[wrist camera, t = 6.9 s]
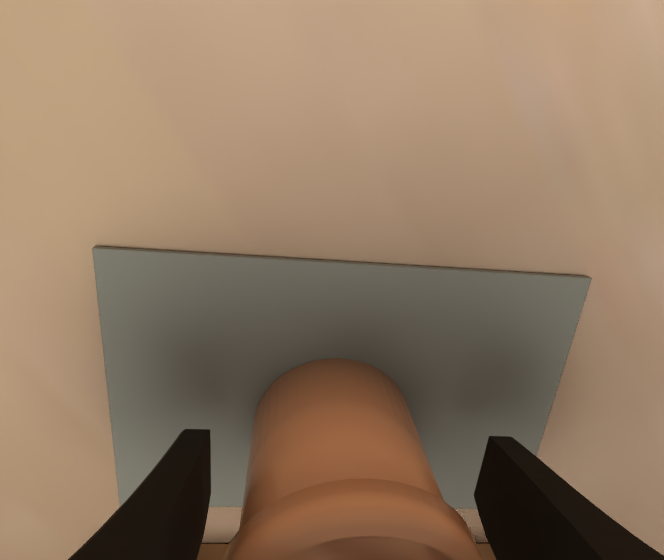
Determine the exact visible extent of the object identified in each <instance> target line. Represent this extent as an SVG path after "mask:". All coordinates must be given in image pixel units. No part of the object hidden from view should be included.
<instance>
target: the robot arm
mask: <svg viewBox="0 0 664 560" xmlns="http://www.w3.org/2000/svg"><path fill="white" fill-rule="evenodd" d="M210 496H211V442H210V429H185V430H183V431H182V432H181V433H180V434H179V436H178V437H177V438H176V440H175V441H174V443H173V444H172V445H171V447H170V448H169V449H168V451H167V452H166V453H165V455H164V456H163V457H162V458H161V460H160V461H159V462H158V463H157V465H156V466H155V467H154V468H153V470H152V471H151V472H150V473H149V475H148V476H147V477H146V478H145V479H144V480H143V482H142V483H141V484H140V485H139V486H138V487H137V489H136V490H135V491H134V492H133V493H132V495H131V496H130V497H129V498H128V499H127V500H126V501H125V502H124V503H123V504H122V506H121V507H120V508H119V509H118V510H117V511H116V512H115V513H114V514H113V515H112V516H111V517H110V518H109V519H108V521H107V522H106V523H105V524H104V525H103V526H102V527H101V528H100V529H99V530H98V531H97V532H96V533H95V534H94V535H93V536H92V537H91V538H90V539H89V540H88V541H87V542H86V543H85V544H84V545H83V546H82V547H81V548H80V549H79V550H78V551H77V552H76V553H74V554H73V555H72V556H71V557H70V558H69V559H68V560H197V557H198V553H199V550H200V546H201V543H202V539H203V535H204V530H205V524H206V519H207V513H208V508H209V502H210ZM474 499H475V502H476V506H477V509H478V512H479V516H480V519H481V522H482V525H483V528H484V531H485V534H486V537H487V539H488V542H489V544H490V546H491V549H492V551H493V553H494V555H495V558H496V560H664V556H663V555H661V554H660V553H659V552H657V551H656V550H654V549H653V548H651V547H650V546H648V545H647V544H645V543H644V542H643V541H641V540H640V539H638V538H637V537H636V536H634V535H633V534H632V533H630V532H629V531H628V530H626V529H625V528H624V527H622V526H621V525H620V524H618V523H617V522H616V521H614V520H613V519H612V518H610V517H609V516H608V515H606V514H605V513H604V512H603V511H601V510H600V509H599V508H598V507H596V506H595V505H594V504H592V503H591V502H590V501H589V500H587V499H586V498H585V497H584V496H583V495H581V494H580V493H579V492H578V491H576V490H575V489H574V488H573V487H572V486H570V485H569V484H568V483H567V482H566V481H564V480H563V479H562V478H561V477H560V476H558V475H557V474H556V473H555V472H554V471H553V470H551V469H550V468H549V467H548V466H547V465H545V464H544V463H543V462H542V461H541V460H540V459H538V458H537V457H536V456H535V455H534V454H532V453H531V452H530V451H529V450H528V449H526V448H525V447H524V446H523V445H522V444H520V443H519V442H518V441H517V440H515V439H514V438H513V437H511V436H489V438H488V442H487V446H486V450H485V453H484V457H483V461H482V465H481V469H480V472H479V476H478V480H477V484H476V488H475V492H474Z"/></svg>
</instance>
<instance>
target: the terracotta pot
mask: <svg viewBox="0 0 664 560" xmlns="http://www.w3.org/2000/svg"><path fill="white" fill-rule="evenodd" d="M222 560H483V559H482V556H481V554H480V552H479V549H478V547H477V544H476V542H475V540H474V537H473V535H472V533H471V531H470V529H469V527H468V526H467V524H466V522H465V521H464V520H463V518H462V517H461V516H460V515H459V514H458V512H457V511H456V510H454V509H453V508H452V507H451V506H450V505H449V504H447V503H446V502H445V501H444V499H443V497H442V494H441V492H440V489H439V486H438V484H437V481H436V478H435V476H434V473H433V471H432V468H431V465H430V463H429V460H428V458H427V455H426V452H425V450H424V447H423V445H422V442H421V439H420V437H419V434H418V432H417V429H416V426H415V424H414V421H413V419H412V416H411V413H410V411H409V408H408V406H407V403H406V400H405V398H404V396H403V394H402V392H401V390H400V389H399V387H398V386H397V385H396V383H395V382H394V381H393V380H392V379H391V378H390V377H389V376H387V375H386V374H385V373H383V372H382V371H380V370H379V369H377V368H375V367H373V366H371V365H368V364H366V363H363V362H360V361H355V360H351V359H341V358H331V359H322V360H316V361H312V362H308V363H305V364H303V365H300V366H297V367H295V368H293V369H291V370H289V371H288V372H286V373H285V374H283V375H282V376H280V377H279V378H278V379H277V380H276V381H274V382H273V383H272V384H271V385H270V387H269V388H268V389H267V390H266V391H265V393H264V394H263V396H262V397H261V399H260V401H259V403H258V405H257V408H256V411H255V415H254V421H253V429H252V437H251V444H250V452H249V460H248V467H247V475H246V483H245V490H244V498H243V506H242V513H241V521H240V529H239V531H238V532H237V534H236V535H235V536H234V538H233V539H232V541H231V542H230V543H229V545H228V547H227V549H226V551H225V553H224V555H223V559H222Z"/></svg>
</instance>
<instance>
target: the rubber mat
mask: <svg viewBox="0 0 664 560" xmlns="http://www.w3.org/2000/svg"><path fill="white" fill-rule="evenodd" d="M92 250H93V260H94V269H95V278H96V288H97V297H98V306H99V315H100V325H101V334H102V343H103V353H104V362H105V371H106V381H107V390H108V399H109V409H110V418H111V427H112V437H113V446H114V455H115V465H116V474H117V483H118V493H119V502H120V506H122V504H123V503H124V502H125V501H126V500H127V499H128V498H129V497H130V496H131V495H132V493H133V492H134V491H135V490H136V489H137V487H138V486H139V485H140V484H141V483H142V482H143V480H144V479H145V478H146V477H147V476H148V475H149V473H150V472H151V471H152V470H153V468H154V467H155V466H156V465H157V463H158V462H159V461H160V460H161V458H162V457H163V456H164V455H165V453H166V452H167V451H168V449H169V448H170V447H171V445H172V444H173V443H174V441H175V440H176V438H177V437H178V436H179V434H180V433H181V432H182V431H183V430H185V429H210V442H211V496H210V502H209V507H242V506H243V498H244V490H245V483H246V475H247V467H248V460H249V452H250V444H251V437H252V429H253V421H254V415H255V411H256V408H257V405H258V403H259V401H260V399H261V397H262V396H263V394H264V393H265V391H266V390H267V389H268V388H269V387H270V385H271V384H272V383H273V382H274V381H276V380H277V379H278V378H279V377H280V376H282V375H283V374H285V373H286V372H288V371H289V370H291V369H293V368H295V367H297V366H300V365H303V364H305V363H308V362H312V361H316V360H322V359H331V358H341V359H351V360H355V361H360V362H363V363H366V364H368V365H371V366H373V367H375V368H377V369H379V370H380V371H382V372H383V373H385V374H386V375H387V376H389V377H390V378H391V379H392V380H393V381H394V382H395V383H396V385H397V386H398V387H399V389H400V390H401V392H402V394H403V396H404V398H405V400H406V403H407V406H408V408H409V411H410V413H411V416H412V419H413V421H414V424H415V426H416V429H417V432H418V434H419V437H420V439H421V442H422V445H423V447H424V450H425V452H426V455H427V458H428V460H429V463H430V465H431V468H432V471H433V473H434V476H435V478H436V481H437V484H438V486H439V489H440V492H441V494H442V497H443V499H444V501H445V502H446V503H447V504H449V505H450V506H451V507H452V508H468V509H477V506H476V502H475V499H474V492H475V488H476V484H477V480H478V476H479V472H480V469H481V465H482V461H483V457H484V453H485V450H486V446H487V442H488V438H489V436H511V437H513V438H514V439H515V440H517V441H518V442H519V443H520V444H522V445H523V446H524V447H525V448H526V449H528V450H529V451H530V452H531V453H532V454H534V455H535V456H536V454H537V451H538V448H539V445H540V442H541V439H542V435H543V432H544V429H545V426H546V423H547V419H548V416H549V413H550V410H551V407H552V403H553V400H554V397H555V394H556V391H557V388H558V384H559V381H560V378H561V375H562V372H563V368H564V365H565V362H566V359H567V356H568V352H569V349H570V346H571V343H572V340H573V337H574V333H575V330H576V327H577V324H578V321H579V317H580V314H581V311H582V308H583V305H584V301H585V298H586V295H587V292H588V289H589V285H590V282H591V279H592V278H590V277H588V276H579V275H563V274H546V273H530V272H513V271H497V270H481V269H464V268H448V267H431V266H415V265H398V264H382V263H366V262H349V261H333V260H316V259H300V258H283V257H267V256H251V255H234V254H218V253H201V252H185V251H168V250H152V249H136V248H119V247H103V246H95V247H93V248H92Z"/></svg>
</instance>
